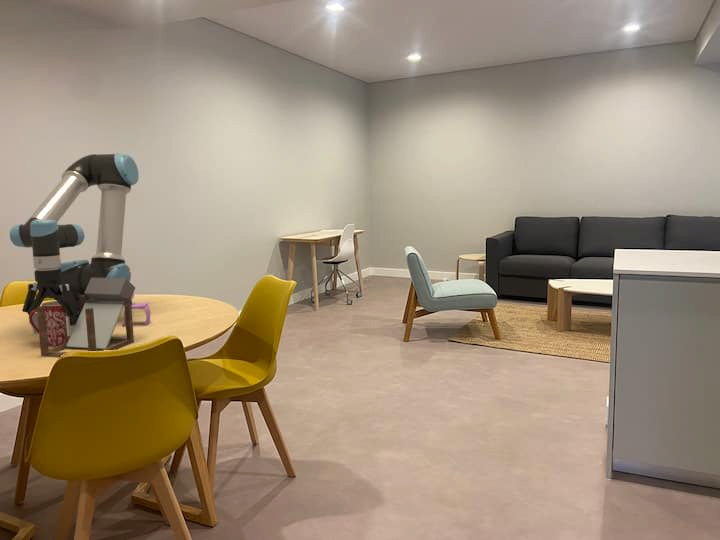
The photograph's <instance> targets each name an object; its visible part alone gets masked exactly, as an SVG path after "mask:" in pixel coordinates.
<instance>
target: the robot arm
mask: <svg viewBox="0 0 720 540" xmlns="http://www.w3.org/2000/svg"><path fill="white" fill-rule="evenodd" d="M139 175H140V174H139V169H138V165H137V163H136V161H135V160H134V158H133V157H131V156H130V155H129V154H126V153H109V154H107V153H106V154H105V153H104V154H103V153H102V154H101V153H99V154H93V153H92V154H89V155H86V156H83V157H81V158H79V159H78V160H76V161H75V162H73V163H72V164H71V165H69V167H67V169H65V171H64V172H63V173H62V174H61V180H60V181H59V182H58V183H57V185H56V186H55V187H54V189H53V190H52V191H51V192H50V193H49V194H48V195H47V197H46V198H45V199H44V201H43V202H42V203H41V204H40V205H39V207H38V208H37V209H35V211H34V212H33V213H32V215H31V216H30V217H29V218H28V220H27V221H25V223H24V224H22V223H21V224H15V225H14V226H12V227H11V229H10V231H9V239H10V241H11V243H12V244H13V245H14V246H16V247H18V248H26V249H27V248H28V249H29V248H32V259H33V260H32V261H33V269H35V270H34V274H33V275H34V281H35V282H34V283H29V284H28V286H27V289H28V290H27V294H26V296H25V300H24V303H23V306H22V312H23V313H26V314H27V315H28V316H29V315H30V313H31V312H32V311H33V310H37V307H39V306H42V305H41V304H43V303H44V300H45V299H53V300H54V301H57V302H58V303H59V304H60V305H62V308H63V309H64V311H65V312H66V313H67V316H66V327H67V336H71V334H72V332H73V330H74V327H75V325H76V323H77V321H78V318H79V316H80V314H81V313H80V312H81V309H80V304H79V296H81V295H86V294H84V293H85V291H86V288H87V286H88V284H89V282H90V279H91V278H126V279H127V280H128V281H129V282H130V283H131V280H132V279H131V278H132V276H131V275H132V272H131V271H130V270H131V269H130V266H129V265H127V264H126V259H125V258H124V257H123V256H122V251H123V238H124V225H125V214H126V200H127V195H128V194H129V193H130V192H131V191H132V186H135V185H136V184H137V182H138V181H139ZM92 186H97V188H98V189H99V190H100V192H101V195H100V197H101V198H100V206H99V207H100V208H99V219H98V228H97V229H98V231H97V242H96V243H97V244H96V251H95V252H96V253H95V254H94V255H93V256H91V260H90V261H89V259H80V260H72V261H66V262H61V261H62V260H61V251H60V250H61V249H63V248H75V247H77V246H79V245H80V246H81V244H83V242H84V240H85V232H84V230H83V228H82V227H81V226H80V225H78V224H76V223H75V224H72V223H68V224H67V223H66V224H58V222H59V221H60V219H62V217H63V216H64V215H65V213H66V212H67V211H68V209H69V208H70V207H71V205H72V204H74V202H75V200H76V199H77V198H78V196H79V195H80V194H81V193H84V192H85V191H87V190H88V189H89V188H90V187H92ZM86 299H87V300H92V299H90V298H89V297H88V296H87V295H86ZM70 311H71V312H70ZM28 321H29V324H30V327H31V335H36V334H39V333H38V332H37V331H36V330H35V329H34V328H33V327H32V325H31V323H30V320H29V319H28ZM32 321H33V323H34V325H35V326H36V327H37V328H38V329H39V327H38V317H37V312H36V313H34V314H33V315H32Z"/></svg>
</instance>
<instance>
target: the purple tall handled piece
mask: <svg viewBox="0 0 720 540" xmlns="http://www.w3.org/2000/svg"><path fill="white" fill-rule="evenodd" d="M134 297H135V292H134V293H133V295H132V298H131V301H132V305H131V307H132V310H136V309H137V310H143V311H144V313H145V316H146V317H145V318H146V319H145V323H144V326H145V327H146V326H148V325H149V323H150V321H151V309H150V305H149V302H140V303H139V302H138V303H137V302H135V303H134V302H133V299H134ZM124 326H125V327H126V322H125V310H124V311H123V322H122V326H121V327H122V328H124Z"/></svg>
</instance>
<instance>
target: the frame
mask: <svg viewBox="0 0 720 540" xmlns="http://www.w3.org/2000/svg"><path fill="white" fill-rule="evenodd" d="M86 300H87V299H86V295H81V296H79V304H80V309H81V312H82V309H83V307H84V305H85V301H86ZM132 303H133V300H132V301H131V297H124V302H123V304H124V306H123V309H124V311H125V322H126V325H125V331H126V333H125V334H126V337H116V336H115V337H114V336H112V337H111V339H110V342H109V343H115V344H112V345H110V346H108V347H107V348H105V349H99V351H104V350H114V349H116V350H118V349H119V350H120V349H121V348H123V347H126V346H128V345H130V344H133V343H135V340H134V339H135V337H134V324H133V309H132V307H131V305H132ZM81 312H80V313H81ZM36 313H37V317H38V327H39V333H38V337H39V346H40V347H39V349H40V355H41V357H50V358H51V357H52V358H53V357H54V358H61V357H60V356H61V355H63V354H65V353H67V352H68V351H63V350H66V349H68V347H67V346H66V345H67V343H68V342H67V343H64V344H62V345H59V346H53V347H51V348H50V347H49V345H48V335H47V324H46V314H45V306H42V305H40V306H39V307H37V312H36ZM85 314H86V325H87V337H88V348H87V349H88V352H89V351H97V350H98V349H96V336H95V324H94V312H93V308H87V309H85ZM60 350H61V351H60ZM114 351H115V350H114ZM97 352H98V351H97Z"/></svg>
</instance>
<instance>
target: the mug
mask: <svg viewBox="0 0 720 540" xmlns="http://www.w3.org/2000/svg"><path fill="white" fill-rule="evenodd" d="M40 306H45V314H46V324H47V335H48V346H50V347H56V346H59V345H62V344H64V343H67V342H68V341H69V339H70V336H67V327H66V316H67V313H66V312H65V311H64V309H63V308H62V305H60V304H59V303H58V302H57V300H52V301H46V302H42V303H41V305H40ZM70 312H71V311H70ZM34 313H37V310H33V311H32V312H31V313H30V315H29V314H28V321H29V320H30V322H29V324H30V323H31V324H30V326H31V325H32V327H33V328H34V329H35V330H36V331H37V332H38V333H37V334H39V329H38V328H37V327H36V326H35V325H34V323H33V321H32V315H33V314H34Z"/></svg>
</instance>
